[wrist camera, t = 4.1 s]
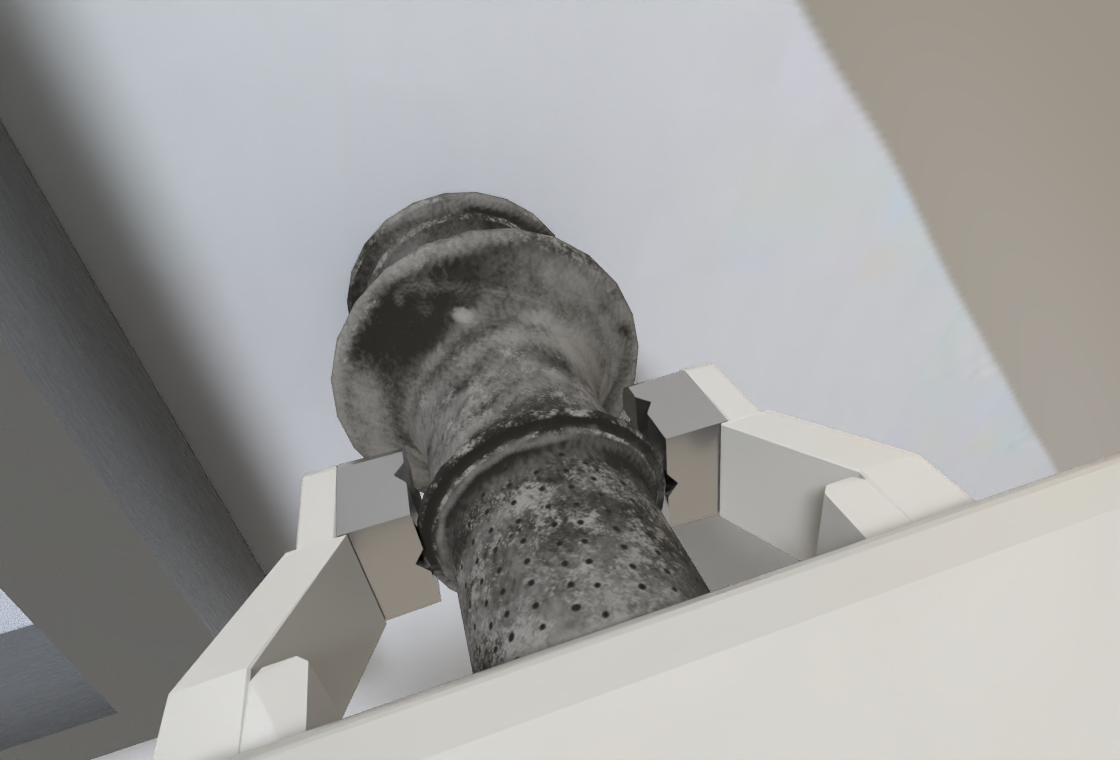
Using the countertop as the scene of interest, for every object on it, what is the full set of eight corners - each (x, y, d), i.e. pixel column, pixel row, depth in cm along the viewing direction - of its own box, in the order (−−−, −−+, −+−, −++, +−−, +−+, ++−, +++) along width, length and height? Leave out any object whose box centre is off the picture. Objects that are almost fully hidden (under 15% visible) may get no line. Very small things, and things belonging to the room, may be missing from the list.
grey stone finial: (562, 407, 18) (846, 946, 8) (334, 411, 16) (322, 1133, 6) (604, 190, 15) (1134, 604, 5) (331, 163, 13) (302, 749, 3)
